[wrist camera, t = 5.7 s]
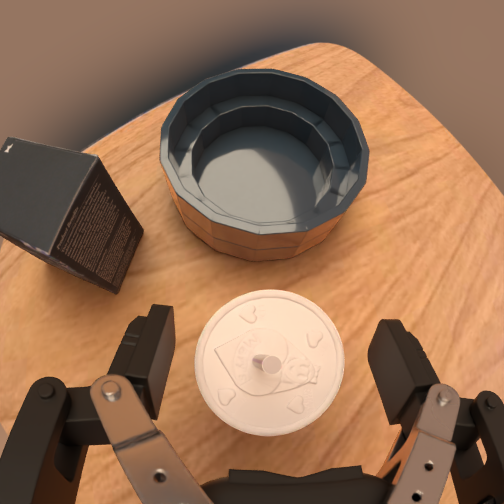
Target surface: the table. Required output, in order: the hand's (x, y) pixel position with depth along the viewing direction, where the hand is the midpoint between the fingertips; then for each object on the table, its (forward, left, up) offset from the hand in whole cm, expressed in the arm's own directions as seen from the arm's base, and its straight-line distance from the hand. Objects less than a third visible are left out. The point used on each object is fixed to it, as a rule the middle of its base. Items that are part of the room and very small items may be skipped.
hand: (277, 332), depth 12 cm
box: (-12, +8, -11) cm, 18 cm away
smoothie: (0, -1, -11) cm, 11 cm away
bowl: (+2, +13, -11) cm, 17 cm away
